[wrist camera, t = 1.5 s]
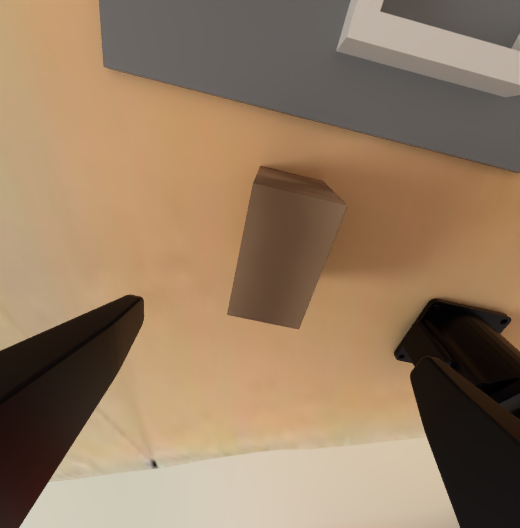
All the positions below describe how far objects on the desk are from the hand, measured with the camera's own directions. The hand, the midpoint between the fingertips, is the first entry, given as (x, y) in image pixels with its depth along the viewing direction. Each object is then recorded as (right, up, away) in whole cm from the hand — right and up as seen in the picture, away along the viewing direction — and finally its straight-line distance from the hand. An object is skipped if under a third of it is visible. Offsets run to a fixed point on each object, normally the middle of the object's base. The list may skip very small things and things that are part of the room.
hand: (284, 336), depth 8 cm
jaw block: (0, +5, +9) cm, 11 cm away
